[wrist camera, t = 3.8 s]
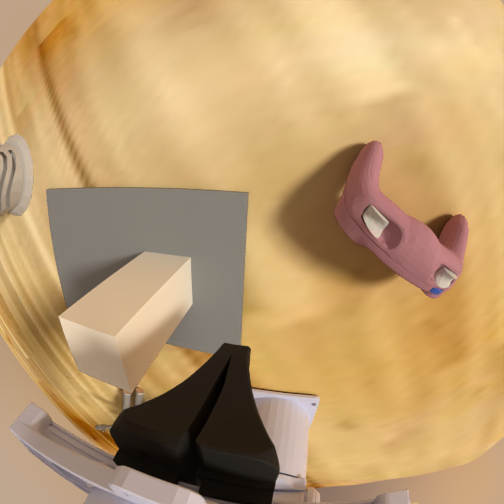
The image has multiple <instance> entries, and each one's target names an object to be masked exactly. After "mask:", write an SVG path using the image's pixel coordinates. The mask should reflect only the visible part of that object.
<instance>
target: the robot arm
mask: <svg viewBox="0 0 504 504" xmlns="http://www.w3.org/2000/svg"><path fill="white" fill-rule="evenodd" d="M250 352H251V349H250V347H248V346H242V345H235V344H230V343H223V344H222V345H221V347H220V348H219V349H218V350H217V351H216V352H215V353H214V355H213V356H212V357H211V358H210V359H209V360H208V361H207V362H206V363H205V364H204V365H203V366H202V367H200V368H199V369H198V370H197V371H196V372H195V373H193V374H192V375H191V376H190V377H189V378H187V379H186V380H185V381H183V382H182V383H180V384H179V385H177V386H176V387H174V388H173V389H171V390H169V391H168V392H166V393H164V394H162V395H160V396H158V397H156V398H154V399H152V400H149V401H147V402H145V403H142V404H139V405H136V406H133V407H130V408H126V409H124V410H123V411H122V412H121V414H120V415H119V416H118V417H117V419H116V420H115V422H114V423H113V425H112V427H111V428H110V434H111V436H112V438H113V439H114V441H115V443H116V444H117V446H118V447H119V450H118V452H117V453H116V455H115V456H113V455H111V454H109V453H107V452H105V451H103V450H101V449H99V448H97V447H95V446H93V445H91V444H89V443H88V442H86V441H84V440H82V439H80V438H79V437H77V436H75V435H74V434H72V433H70V432H69V431H67V430H65V429H64V428H62V427H60V426H59V425H58V424H56V423H54V422H53V421H52V419H51V418H50V416H49V415H48V414H47V413H46V412H45V411H44V410H43V409H41V408H40V407H38V406H37V405H35V404H34V403H33V402H31V403H30V404H29V405H28V407H27V408H26V409H25V410H24V411H23V412H22V413H21V415H20V416H19V417H18V418H17V419H16V421H15V422H14V423H13V424H12V425H11V427H10V430H11V431H12V432H13V434H14V435H15V436H16V437H17V438H18V439H19V440H20V442H22V444H23V445H24V446H25V447H26V448H27V449H28V450H29V451H30V452H31V453H32V454H33V455H35V456H36V457H37V458H38V459H40V460H41V461H42V462H43V463H45V464H46V465H47V466H49V467H50V468H51V469H53V470H54V471H55V472H57V473H58V474H59V475H61V476H62V477H64V478H65V479H66V480H68V481H69V482H71V483H73V484H74V485H75V486H77V487H78V488H80V489H81V490H83V491H85V492H86V493H88V494H89V495H88V497H87V499H86V501H85V502H84V504H410V500H409V492H408V490H407V489H406V490H399V491H393V492H387V493H383V494H380V495H379V496H377V497H376V498H375V499H371V500H361V501H348V502H320V493H319V492H317V491H316V490H315V488H313V487H312V488H308V491H307V497H306V502H304V501H305V491H306V467H307V453H308V435H309V428H310V425H311V423H312V420H313V418H314V415H315V412H316V410H317V407H318V405H319V402H320V398H319V397H318V396H313V395H301V394H291V393H282V392H273V391H266V390H259V389H252V387H251V381H250V373H249V365H250ZM200 484H201V485H200Z"/></svg>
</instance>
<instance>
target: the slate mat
mask: <svg viewBox="0 0 504 504" xmlns="http://www.w3.org/2000/svg"><path fill="white" fill-rule="evenodd" d="M248 193H249V192H235V191H220V190H203V189H180V188H144V187H94V188H60V189H47V190H46V194H47V205H48V215H49V223H50V231H51V237H52V243H53V249H54V255H55V260H56V265H57V270H58V274H59V279H60V283H61V287H62V291H63V295H64V299H65V302H66V306H67V309H68V308H70V307H71V306H72V305H73V304H75V303H76V302H77V301H78V300H80V299H81V298H82V297H83V296H85V295H86V294H87V293H89V292H90V291H91V290H93V289H94V288H95V287H97V286H98V285H99V284H100V283H102V282H103V281H104V280H106V279H107V278H109V277H110V276H111V275H113V274H114V273H115V272H117V271H118V270H119V269H121V268H122V267H124V266H125V265H126V264H128V263H129V262H130V261H132V260H133V259H135V258H136V257H137V256H139V255H140V254H142V253H143V252H153V253H160V254H168V255H176V256H184V257H191V280H192V301H193V304H192V305H191V307H190V308H189V310H188V311H187V313H186V314H185V316H184V317H183V318H182V320H181V321H180V323H179V324H178V326H177V327H176V329H175V330H174V332H173V333H172V334H171V336H170V337H169V339H168V340H167V342H166V344H170V345H174V346H179V347H183V348H188V349H192V350H197V351H202V352H207V353H212V354H214V353H215V352H216V351H217V350H218V349H219V348H220V347H221V345H222V344H223V343H230V344H235V345H241V332H242V310H243V289H244V269H245V249H246V230H247V211H248Z"/></svg>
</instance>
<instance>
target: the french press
mask: <svg viewBox="0 0 504 504" xmlns="http://www.w3.org/2000/svg"><path fill="white" fill-rule="evenodd" d="M32 188H33V162H32V158H31V154H30V149H29V146H28V145H27V143H26V141H25V139H24V138H23V137H22V136H20V135H18V134H15V135H13V136H10V137H9V138H8V140H7V141H6V142H5V144H4V145H0V215H1V214H4V213H7V212H10V213H11V214H13V215H20V216H21V215H22V214H23V213H24V212H25V211H26V210H27V208H28V205H29V202H30V199H31V196H32Z"/></svg>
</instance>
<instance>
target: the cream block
mask: <svg viewBox="0 0 504 504" xmlns="http://www.w3.org/2000/svg"><path fill="white" fill-rule="evenodd" d="M192 304H193V301H192V280H191V257H184V256H176V255H168V254H160V253H153V252H143V253H142V254H140V255H139V256H137V257H136V258H135V259H133V260H132V261H130V262H129V263H128V264H126V265H125V266H124V267H122V268H121V269H119V270H118V271H117V272H115V273H114V274H113V275H111V276H110V277H109V278H107V279H106V280H104V281H103V282H102V283H100V284H99V285H98V286H97V287H95V288H94V289H93V290H91V291H90V292H89V293H87V294H86V295H85V296H83V297H82V298H81V299H80V300H78V301H77V302H76V303H75V304H73V305H72V306H71V307H70V308H68V309H67V310H66V311H65V312H63V313H62V314H61V315H60V316H58V317H59V320H60V323H61V326H62V329H63V332H64V334H65V337H66V340H67V343H68V345H69V348H70V350H71V353H72V355H73V358H74V360H75V363H76V365H77V367H78V370H79V371H81V372H83V373H85V374H87V375H89V376H91V377H94V378H96V379H98V380H101V381H103V382H105V383H108V384H110V385H113V386H115V387H118V388H120V389H123V390H126V391H128V392H131V393H133V391H134V390H135V388H136V387H137V385H138V384H139V382H140V381H141V379H142V378H143V376H144V375H145V373H146V372H147V370H148V369H149V367H150V366H151V364H152V363H153V361H154V360H155V358H156V357H157V355H158V354H159V352H160V351H161V349H162V348H163V346H164V345H165V343H166V342H167V340H168V339H169V337H170V336H171V334H172V333H173V332H174V330H175V329H176V327H177V326H178V324H179V323H180V321H181V320H182V318H183V317H184V316H185V314H186V313H187V311H188V310H189V308H190V307H191V305H192Z"/></svg>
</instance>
